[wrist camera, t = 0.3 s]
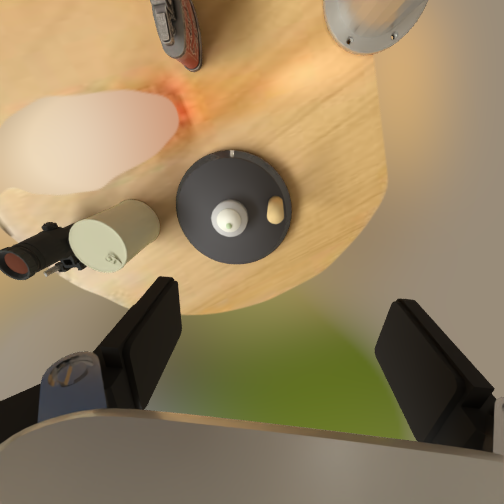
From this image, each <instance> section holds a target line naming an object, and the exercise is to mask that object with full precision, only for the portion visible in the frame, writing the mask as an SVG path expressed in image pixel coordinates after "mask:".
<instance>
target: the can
mask: <svg viewBox="0 0 504 504" xmlns="http://www.w3.org/2000/svg"><path fill="white" fill-rule="evenodd" d="M159 232H160V223H159V219H158V217H157V215H156V214H155V212H154V211H153V210H152V209H151V208H150V207H149V206H148V205H146V204H145V203H143V202H141V201H138V200H125V201H122V202H121V203H119V204H118V205H116V206H114V207H112V208H109V209H107V210H105V211H102V212H100V213H98V214H95V215H93V216H91V217H88V218H86V219H83V220H80V221H78V222H76V223H75V224H74V225H73V226H72V227H71V229H70V232H69V243H70V246H71V248H72V250H73V252H74V254H75V255H76V257H77V258H78V259H79V260H80V261H81V262H82V263H84V264H85V265H86V266H88V267H89V268H91V269H93V270H96V271H99V272H103V273H112V272H116V271H118V270H120V269H121V268H123V267H124V265H125V264H126V263H127V262H129V261H130V260H131V259H132V258H133V257H134V256H135V255H136V254H138V253H139V252H140V251H141V250H142V249H143V248H145V247H146V246H147V245H148V244H149V243H151V242H153V241H154V240H155V239H156V238H157V237H158V235H159Z"/></svg>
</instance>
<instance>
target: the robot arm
mask: <svg viewBox="0 0 504 504" xmlns="http://www.w3.org/2000/svg"><path fill="white" fill-rule="evenodd" d="M427 2H428V0H323V10H324V17H325V21H326V25H327V28H328V30H329V32H330V34H331V36H332V38H333V39H334V40H335V42H336V43H337V44H338V45H339V46H340V47H342V48H343V49H344V50H346V51H348V52H350V53H353V54H357V55H372V54H375V53H378V52H381V51H383V50H385V49H387V48H389V47H391V46H392V45H394V44H395V43H396V42H398V41H399V40H400V39H401V38H402V37H403V36H404V35H406V34H407V33H408V32H409V30H410V29H411V28H412V27H413V26H414V24H415V23H416V22H417V20H418V18H419V17H420V15H421V13H422V12H423V10H424V8H425V6H426V4H427ZM391 36H393V40H392V39H391ZM347 41H350V44H349V45H348V44H347ZM181 331H182V325H181V313H180V302H179V290H178V282H177V281H174V279H173V278H172V277H162V276H160V277H158V278H157V279H156V281H155V282H154V283H153V284H152V285H151V287H150V288H149V289H148V290H147V291H146V293H145V294H144V295H143V296H142V297H141V298H140V300H139V301H138V302H137V303H136V304H135V305H133V306H132V307H131V308H130V309H129V310H128V312H127V313H126V314H125V315H124V316H123V318H122V319H121V320H120V321H119V322H118V323H117V324H116V326H115V327H114V328H113V329H112V330H111V332H110V333H109V334H108V335H107V336H106V337H105V339H104V340H103V341H102V342H101V343H100V345H99V346H98V347H97V348H96V349H95V350H94V351H93V352H88V351H84V352H77V353H73V354H70V355H68V356H65V357H63V358H61V359H60V360H58V361H57V362H55V363H54V364H53V365H52V366H51V367H49V368H48V369H47V371H46V372H45V374H44V375H43V377H42V380H41V384H39V385H36V386H34V387H32V388H30V389H27V390H25V391H23V392H20V393H18V394H16V395H14V396H11V397H9V398H7V399H5V400H2V401H0V504H504V397H501V398H498V399H496V398H495V397H494V396H493V395H492V392H493V391H494V387H493V386H492V385H491V384H490V383H489V382H488V381H487V380H486V379H485V377H484V376H483V375H482V374H481V373H480V372H479V371H478V370H477V369H476V368H475V367H474V365H473V364H472V363H471V362H470V361H469V360H468V359H467V358H466V356H465V355H464V354H463V353H462V352H461V351H460V350H459V349H458V348H457V346H456V345H455V344H454V343H453V342H452V341H451V340H450V339H449V338H448V336H447V335H446V334H445V333H444V332H443V331H442V330H441V329H440V328H439V327H438V325H437V324H436V323H435V322H434V321H433V320H432V319H431V318H430V317H429V315H428V314H427V313H426V312H425V311H424V310H423V309H422V308H421V307H420V305H419V304H418V303H417V302H416V301H415V300H409V299H397V300H396V302H393V303H392V304H391V307H390V309H389V312H388V315H387V317H386V320H385V323H384V325H383V328H382V330H381V333H380V336H379V338H378V341H377V344H376V346H375V355H376V358H377V360H378V362H379V364H380V366H381V368H382V370H383V372H384V374H385V377H386V379H387V381H388V382H389V385H390V387H391V389H392V391H393V393H394V395H395V397H396V399H397V401H398V403H399V406H400V408H401V409H402V412H403V414H404V416H405V418H406V420H407V422H408V424H409V426H410V428H411V430H412V433H413V435H414V437H415V438H416V440H417V441H418V442H417V441H409V440H401V439H392V438H385V437H376V436H369V435H361V434H352V433H345V432H336V431H327V430H320V429H311V428H303V427H295V426H286V425H277V424H269V423H261V422H252V421H244V420H235V419H226V418H217V417H208V416H200V415H191V414H182V413H171V412H160V411H150V410H144V409H145V407H146V406H147V404H148V402H149V400H150V398H151V396H152V394H153V392H154V390H155V388H156V386H157V383H158V381H159V379H160V377H161V375H162V373H163V371H164V369H165V367H166V365H167V362H168V360H169V358H170V356H171V354H172V352H173V350H174V348H175V346H176V343H177V341H178V339H179V337H180V335H181Z"/></svg>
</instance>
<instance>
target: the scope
mask: <svg viewBox="0 0 504 504" xmlns="http://www.w3.org/2000/svg"><path fill="white" fill-rule="evenodd" d="M74 224H75V223H74ZM74 224H71V225H69V226H66V227H64V228H62V227H58V225H57V223H53V222H48V223H46V225H45V224H44V225H43V226H42V229H43V230H44V231H42V232H40V233H38V234H37V235H35V236H33V237H30V238H28V239H26V240H24V241H22V242H20V243H18V244H16V245H13V246H12V247H7V248H4V249H2V250H0V270H1V271H2V272H3V273H4V274H6V275H8V276H9V277H11V278H14V279H17V280H26V279H28V278H30V277H32V276H33V275H34V274H35V273H36V272H39V271H40V270H42V269H44V268H46V267H48V266H50V265H52V264H54V263H56V262H58V261H61V262H58V263H56V264H55V266H54V267H52V268H50V269H48V270H47V271H45V272H44V274H45V276H46V277H47V276H48V275H50V274H52V273H54V272H56V271H59V272H66V271H68V270H69V269H71V268H73V267H77V268H78V270H83V269H84V268H85V267H87V266H86V265H85V264H84V263H82V262H81V261H80V260H79V259H78V258H77V257H76V255H75V254H74V252H73V250H72V248H71V246H70V243H69V232H70V229H71V227H72V226H73V225H74Z"/></svg>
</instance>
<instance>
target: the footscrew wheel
mask: <svg viewBox="0 0 504 504" xmlns="http://www.w3.org/2000/svg"><path fill="white" fill-rule="evenodd" d="M178 217H179V221H180V225H181V227H182V230H183V232H184V234H185V235H186V237H187V239H188V240H189V241H190V243H191V244H192V245H193V246H194V247H195V248H196V249H197V250H198V251H199V252H201V253H202V254H204V255H205V256H207V257H209V258H211V259H213V260H215V261H218V262H222V263H227V264H244V263H249V262H252V261H255V260H257V259H260V258H261V257H263V256H265V255H266V254H267V253H269V252H270V251H271V250H272V249H273V248H274V247H275V246H276V244H277V243H278V241H279V240H280V238H281V236H282V234H283V231H284V228H285V223H286V205H285V201H284V197H283V194H282V191H281V189H280V187H279V185H278V184H277V182H276V181H275V179H274V178H273V177H272V176H271V175H270V174H269V173H268V172H267V171H266V170H265V169H264V168H262V167H261V166H259V165H257V164H256V163H253V162H251V161H249V160H245V159H242V158H236V157H225V158H218V159H215V160H212V161H209V162H207V163H205V164H203V165H201V166H200V167H198V168H197V169H196V170H194V171H193V172H192V173H191V174H190V175H189V177H188V178H187V179H186V181H185V182H184V184H183V186H182V188H181V191H180V194H179V198H178Z"/></svg>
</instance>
